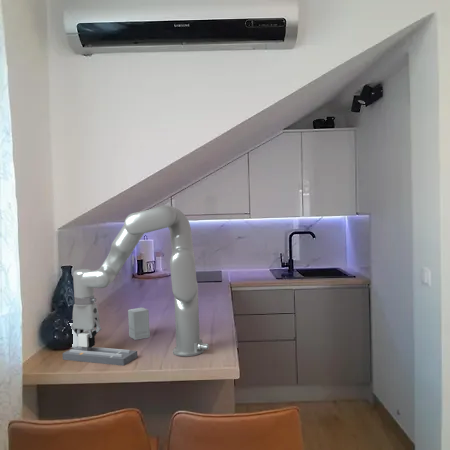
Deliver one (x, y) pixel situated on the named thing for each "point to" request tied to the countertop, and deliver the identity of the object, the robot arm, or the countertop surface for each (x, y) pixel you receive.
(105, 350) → the fader console
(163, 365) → the countertop surface
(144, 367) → the countertop surface
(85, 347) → the cap
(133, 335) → the supplement box
